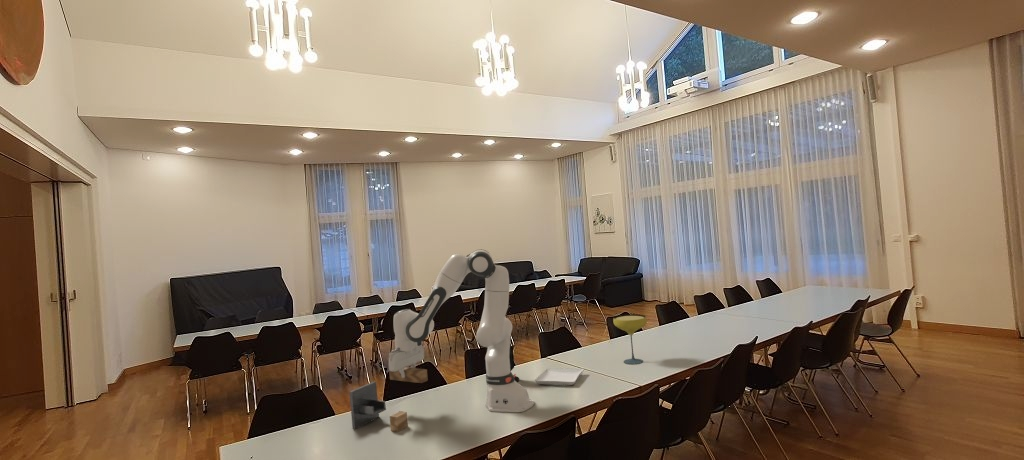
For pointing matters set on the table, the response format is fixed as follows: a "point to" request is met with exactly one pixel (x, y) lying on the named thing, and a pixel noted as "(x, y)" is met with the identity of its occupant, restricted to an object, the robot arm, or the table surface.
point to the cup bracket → (365, 404)
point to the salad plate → (559, 376)
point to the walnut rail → (410, 375)
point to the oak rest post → (398, 421)
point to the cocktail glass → (630, 329)
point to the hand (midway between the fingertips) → (408, 375)
